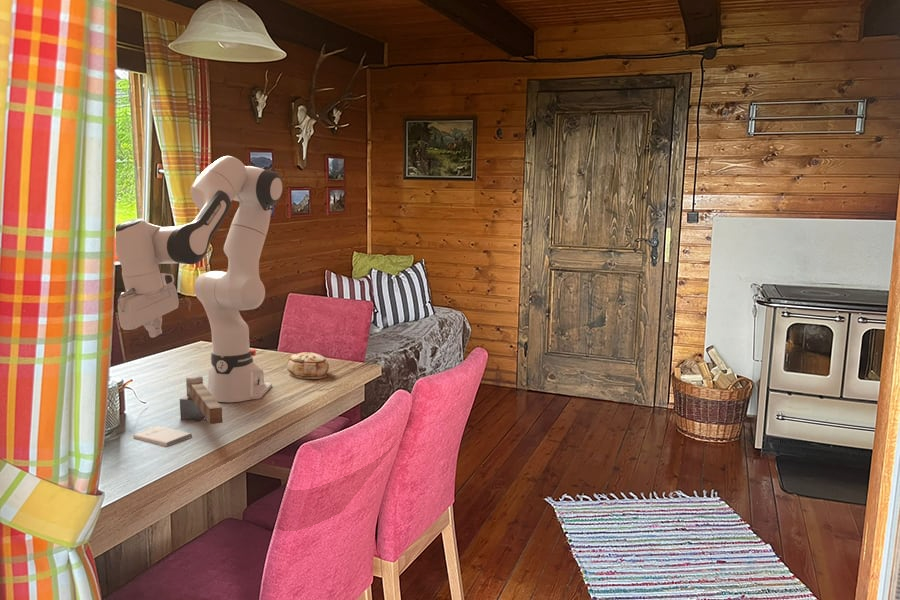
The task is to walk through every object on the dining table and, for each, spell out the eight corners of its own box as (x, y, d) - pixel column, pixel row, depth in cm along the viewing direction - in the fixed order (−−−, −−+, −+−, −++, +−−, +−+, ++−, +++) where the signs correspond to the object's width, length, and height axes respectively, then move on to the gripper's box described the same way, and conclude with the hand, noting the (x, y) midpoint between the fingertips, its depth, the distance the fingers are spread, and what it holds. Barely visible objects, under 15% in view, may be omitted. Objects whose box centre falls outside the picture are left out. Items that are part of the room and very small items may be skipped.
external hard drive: (166, 448, 182) (133, 440, 188) (192, 438, 190) (159, 430, 195) (166, 442, 182) (133, 434, 188) (191, 432, 189) (158, 425, 195)
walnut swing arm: (185, 394, 205) (184, 377, 204) (201, 392, 207) (200, 375, 206) (207, 424, 179) (206, 405, 179) (225, 422, 182) (224, 403, 181)
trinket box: (325, 380, 245) (325, 358, 244) (281, 379, 246) (281, 357, 244) (332, 370, 259) (332, 349, 257) (291, 369, 259) (290, 348, 258)
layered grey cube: (192, 413, 209) (191, 393, 208) (211, 414, 207) (210, 394, 206) (180, 419, 203) (179, 399, 202) (200, 421, 202) (199, 400, 201)
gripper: (128, 293, 172) (142, 348, 175) (177, 273, 191) (188, 323, 195) (105, 295, 173) (119, 349, 177) (156, 275, 193) (168, 324, 196)
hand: (156, 335), depth 186 cm, fingers closed
